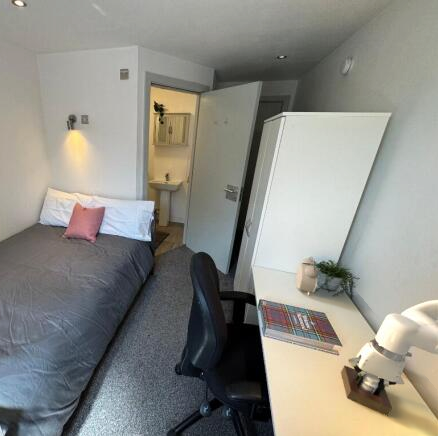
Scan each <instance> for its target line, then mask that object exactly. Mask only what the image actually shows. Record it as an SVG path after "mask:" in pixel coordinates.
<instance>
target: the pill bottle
mask: <svg viewBox="0 0 438 436" xmlns="http://www.w3.org/2000/svg"><path fill="white" fill-rule="evenodd" d="M363 377H364V379H363V380H362V382H361V384H360V385H358V384H357V386H358V388H359V389H361V390H363V391H366V392H368V393H371V394H373V395H374V393H375V391H376V390H377V388H378V383H379V381H380V379H379V378H380V377H378V376H375V375H373V374H370V373H368V372H367V373H366V374H364V375H363Z"/></svg>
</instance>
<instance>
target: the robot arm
mask: <svg viewBox="0 0 438 436" xmlns="http://www.w3.org/2000/svg"><path fill="white" fill-rule="evenodd" d="M437 321H438V299H433V300H427V301H424V302H421V303H419V304H416V305H414V306H411V307H409V308H406V309H405V310H403V311H402V312H401V313H400V314H399V313H388V314H387V315H386V316H385V318H384V320H383V322H382V323H381V325H380V327H379V329H378V330H377V333H376V335H375V336H374V338H373V339H372V340H373V342H370V341H368V342H366V343H365V344H364V345H363V347H361V349H360V350H359V352H358V353H357V355H356V357H353V358H348V364H349V365H350V366H351V368H353V369H355V370H356V374H355V376H354V378H355V380H356V382H357V384H358V385H360V384H361V382H362V380H363V379H364V377H363V375H364V374H366V373H367V372H368V373H370V374H373V375H375V376H378V377H379V379H380V381H379V383H378V388H377V390H376V391H377V393H381V391H383V390H384V388H385V389H386V388H389V386H394V385H405V382H404V379H403V378H402V374H403V373H404V372H403V371H404V369H405V364H406V357H407V358H408V357H409V358H412V356H413V353H412V352H409V351H410V349H411V348H412V347H415V348H417V349H419V350H423V351H425V352H428V353H430V354H433V355H436V356H438V322H437Z"/></svg>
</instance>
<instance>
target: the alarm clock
mask: <svg viewBox="0 0 438 436" xmlns="http://www.w3.org/2000/svg"><path fill="white" fill-rule="evenodd" d="M320 275H321V271H320V268H318V267H317V261H315V260H314V256H312V255H311V256H309V257H308V258H305V259H303V260H302V261H301V263H298V267H297V270H296V278H295V279H296V280H295V282H296V288H297V290H299V291H303V292H307V296H310V293H314V292H315V291H316V289H317V285H318V278H319V276H320Z"/></svg>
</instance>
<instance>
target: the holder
mask: <svg viewBox="0 0 438 436" xmlns="http://www.w3.org/2000/svg"><path fill="white" fill-rule="evenodd" d="M340 374H341V378H342V379H341V380H342V383H343V387H344V391H345V396H346V399H348V400H351V401H353V402H355V403H357V404H359V405H362V406H364V407H366V408H368V409H370V410H373V411H375V412H377V411H378V412H377V413H379V412H380V413H379V414H382V413H383V414H382V415H384V414H385V415H384V416H386V415H387V417H388V416H389V415H390V414H391V412H392V411H393V406H392V403H391V401H390V398H389V395H388V393H387V390H386V387H385V388H384V390H383V391H381V393H377V391H375V393H374V395H373V394H371V393H368V392H366V391H363V390H361V389H359V388H358V386H357V382H356V380H355V378H354V376H355V374H356V370H355V369H354V367H350V366H348V365H345V364H344V365H343V367H342V369H341V371H340Z"/></svg>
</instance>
